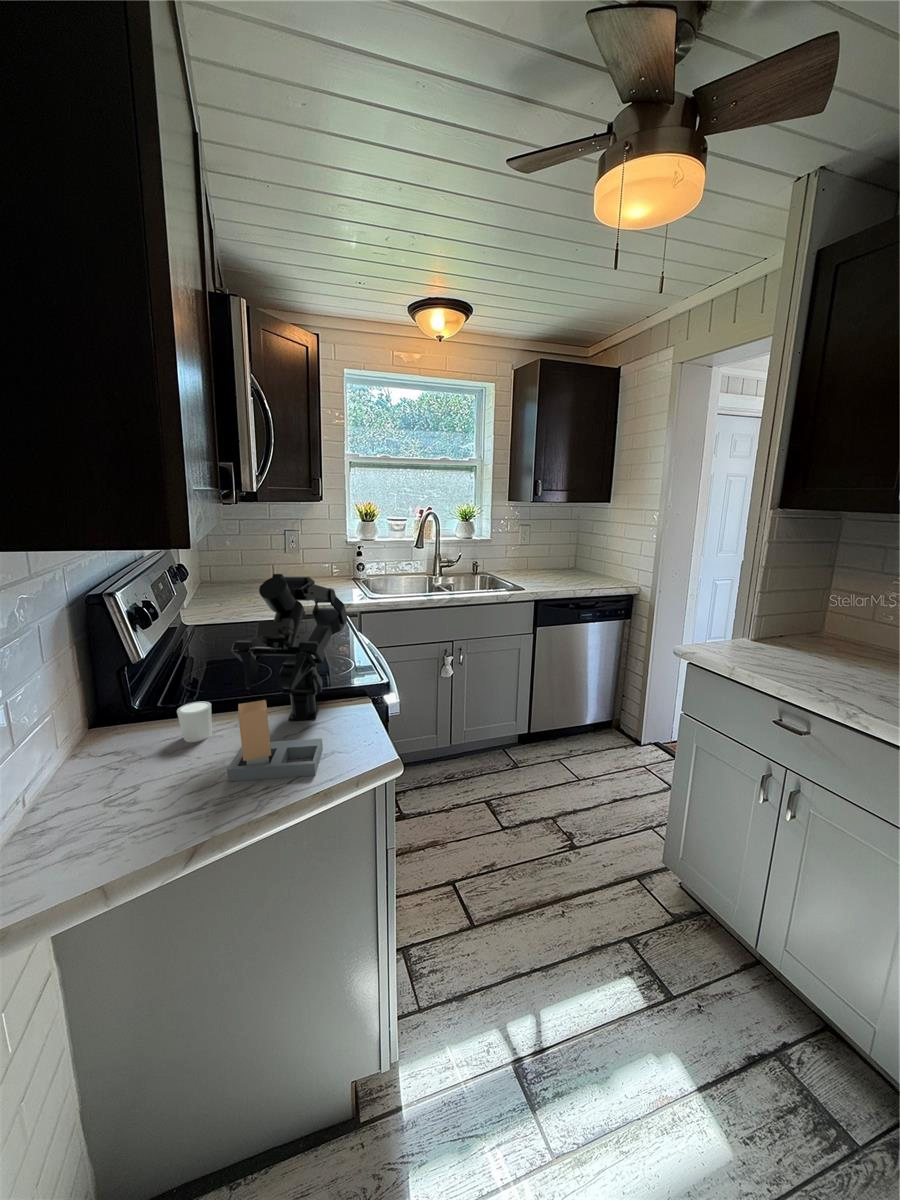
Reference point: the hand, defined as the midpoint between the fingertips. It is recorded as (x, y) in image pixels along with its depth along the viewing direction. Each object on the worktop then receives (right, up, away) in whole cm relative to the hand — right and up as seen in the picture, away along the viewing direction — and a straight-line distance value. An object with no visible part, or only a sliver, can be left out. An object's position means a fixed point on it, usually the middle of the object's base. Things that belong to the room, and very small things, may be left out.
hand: (269, 688), depth 100 cm
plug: (0, -15, -5) cm, 16 cm away
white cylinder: (-19, -13, +9) cm, 25 cm away
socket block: (+3, -15, -3) cm, 15 cm away
